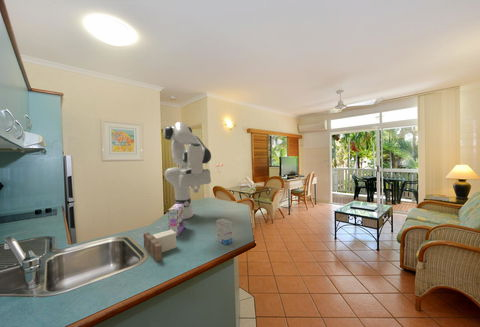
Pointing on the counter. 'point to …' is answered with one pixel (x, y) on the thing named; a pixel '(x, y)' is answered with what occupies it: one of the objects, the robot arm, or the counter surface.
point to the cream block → (166, 239)
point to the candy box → (176, 218)
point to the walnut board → (153, 246)
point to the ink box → (224, 231)
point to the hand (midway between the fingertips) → (195, 192)
